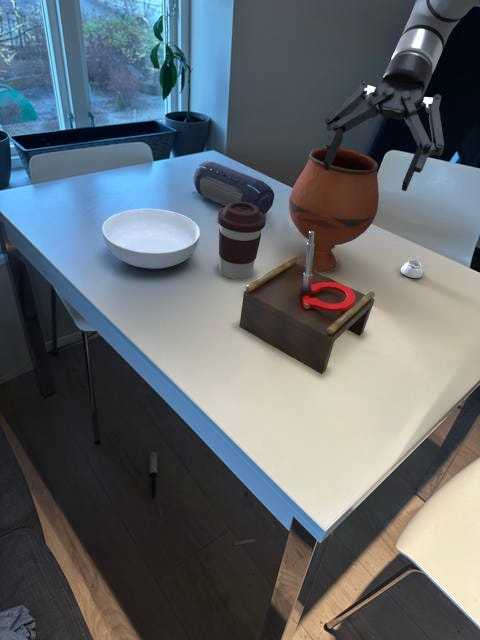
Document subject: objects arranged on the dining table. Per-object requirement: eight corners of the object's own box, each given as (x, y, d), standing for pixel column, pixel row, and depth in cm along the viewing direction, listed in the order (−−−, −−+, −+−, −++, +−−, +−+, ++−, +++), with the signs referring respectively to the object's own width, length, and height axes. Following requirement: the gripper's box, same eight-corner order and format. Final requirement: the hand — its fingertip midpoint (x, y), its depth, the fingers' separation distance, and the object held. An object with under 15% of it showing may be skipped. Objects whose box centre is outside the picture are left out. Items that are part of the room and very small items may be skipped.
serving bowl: (115, 287, 90) (113, 257, 85) (96, 239, 104) (94, 211, 100) (212, 273, 98) (214, 245, 93) (182, 231, 112) (182, 205, 108)
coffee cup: (233, 288, 94) (240, 222, 85) (204, 267, 99) (208, 203, 90) (266, 275, 99) (277, 212, 90) (237, 256, 105) (244, 195, 96)
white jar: (399, 266, 109) (400, 276, 105) (403, 256, 107) (404, 266, 103) (420, 271, 108) (422, 281, 104) (424, 260, 107) (426, 270, 103)
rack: (363, 332, 86) (377, 291, 80) (321, 375, 75) (334, 331, 70) (286, 294, 94) (294, 254, 88) (238, 327, 83) (244, 284, 78)
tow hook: (351, 287, 81) (299, 286, 82) (362, 221, 74) (305, 220, 74) (357, 314, 75) (302, 313, 75) (370, 245, 67) (308, 243, 67)
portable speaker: (186, 195, 130) (187, 161, 124) (210, 188, 137) (212, 155, 131) (253, 226, 119) (257, 189, 113) (275, 216, 125) (280, 181, 119)
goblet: (292, 286, 97) (315, 172, 82) (270, 244, 111) (286, 140, 96) (372, 284, 101) (409, 175, 86) (340, 243, 116) (367, 144, 101)
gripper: (481, 97, 76) (436, 206, 74) (343, 71, 85) (299, 169, 83) (493, 64, 69) (443, 184, 67) (341, 39, 78) (292, 146, 76)
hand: (364, 176), depth 75 cm, fingers open, 13 cm apart
